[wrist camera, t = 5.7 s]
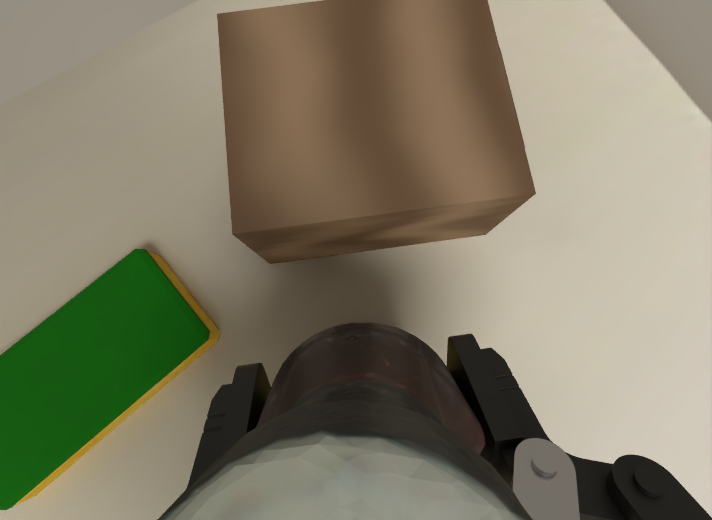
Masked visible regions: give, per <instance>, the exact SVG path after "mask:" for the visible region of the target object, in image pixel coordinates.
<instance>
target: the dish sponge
mask: <svg viewBox="0 0 712 520" xmlns="http://www.w3.org/2000/svg"><path fill="white" fill-rule="evenodd" d="M219 336H220V331H219V330H218V328H217V327H216V326H215V324H214V323H213V322H212V321H211V319H210V318H209V317H208V316H207V314H206V313H205V312H204V311H203V309H202V308H201V307H200V306H199V304H198V303H197V302H196V300H195V299H194V298H193V297H192V295H191V294H190V293H189V292H188V290H187V289H186V288H185V287H184V285H183V284H182V283H181V281H180V280H179V279H178V278H177V276H176V275H175V274H174V273H173V271H172V270H171V269H170V268H169V266H168V265H167V264H166V263H165V261H164V260H163V259H162V257H161V256H159V255H157V254H154V253H152V252H148V251H147V250H144V249H135V250H133V251H132V252H131V253H130V254H128V255H127V256H126V257H125V258H123V259H122V260H121V261H119V262H118V263H117V264H116V265H114V266H113V267H112V268H111V269H109V270H108V271H107V272H106V273H104V274H103V275H102V276H100V277H99V278H98V279H97V280H95V281H94V282H93V283H92V284H90V285H89V286H88V287H87V288H85V289H84V290H83V291H81V292H80V293H79V294H78V295H76V296H75V297H74V298H73V299H71V300H70V301H69V302H67V303H66V304H65V305H64V306H62V307H61V308H60V309H59V310H57V311H56V312H55V313H54V314H52V315H51V316H50V317H48V318H47V319H46V320H45V321H43V322H42V323H41V324H40V325H38V326H37V327H36V328H35V329H33V330H32V331H31V332H29V333H28V334H27V335H26V336H24V337H23V338H22V339H21V340H19V341H18V342H17V343H16V344H14V345H13V346H12V347H10V348H9V349H8V350H7V351H5V352H4V353H3V354H2V355H0V510H7V509H9V508H11V507H13V506H14V505H17V504H19V503H21V502H23V501H25V500H28V499H30V498H32V497H34V496H36V495H37V494H38V493H40V492H41V491H42V490H43V489H44V488H46V487H47V486H48V485H49V484H50V483H51V482H53V481H54V480H55V479H56V478H57V477H58V476H60V475H61V474H62V473H63V472H64V471H65V470H67V469H68V468H69V467H70V466H71V465H72V464H74V463H75V462H76V461H77V460H78V459H80V458H81V457H82V456H83V455H84V454H85V453H87V452H88V451H89V450H90V449H91V448H92V447H94V446H95V445H96V444H97V443H98V442H99V441H101V440H102V439H103V438H104V437H105V436H106V435H108V434H109V433H110V432H111V431H112V430H113V429H115V428H116V427H117V426H118V425H119V424H121V423H122V422H123V421H124V420H125V419H126V418H128V417H129V416H130V415H131V414H132V413H133V412H135V411H136V410H137V409H138V408H139V407H140V406H142V405H143V404H144V403H145V402H146V401H147V400H149V399H150V398H151V397H152V396H153V395H155V394H156V393H157V392H158V391H159V390H160V389H162V388H163V387H164V386H165V385H166V384H167V383H169V382H170V381H171V380H172V379H173V378H174V377H176V376H177V375H178V374H179V373H180V372H181V371H183V370H184V369H185V368H186V367H187V366H189V365H190V364H191V363H192V362H193V361H194V360H196V359H197V358H198V357H199V356H200V355H201V354H203V353H204V352H205V351H206V350H207V349H208V348H210V347H211V346H212V345H213V344H214V343H215V342H217V341H218V340H219Z"/></svg>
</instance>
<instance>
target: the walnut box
mask: <svg viewBox="0 0 712 520" xmlns="http://www.w3.org/2000/svg"><path fill="white" fill-rule="evenodd" d="M217 18H218V33H219V47H220V61H221V76H222V90H223V104H224V119H225V133H226V148H227V162H228V176H229V191H230V205H231V219H232V234H233V235H234V236H235V237H237V238H238V239H239V240H240V241H242V242H243V243H244V244H246V245H247V246H248V247H249V248H251V249H252V250H253V251H254V252H256V253H257V254H258V255H259V256H261V257H262V258H263V259H265V260H266V261H267V262H268V263H270V264H273V263H280V262H287V261H295V260H302V259H310V258H317V257H324V256H332V255H339V254H346V253H354V252H361V251H368V250H376V249H383V248H391V247H398V246H405V245H413V244H420V243H427V242H435V241H442V240H449V239H457V238H464V237H472V236H479V235H486V234H487V233H488V232H489V231H490V230H492V229H493V228H494V227H495V226H497V225H498V224H499V223H500V222H502V221H503V220H504V219H505V218H506V217H508V216H509V215H510V214H511V213H513V212H514V211H515V210H516V209H517V208H519V207H520V206H521V205H522V204H524V203H525V202H526V201H527V200H528V199H530V198H531V197H532V196H533V195H535V194H536V192H535V188H534V184H533V180H532V176H531V172H530V168H529V164H528V160H527V156H526V152H525V146H524V142H523V138H522V134H521V130H520V126H519V122H518V118H517V114H516V110H515V106H514V102H513V98H512V94H511V90H510V86H509V82H508V78H507V74H506V70H505V66H504V62H503V58H502V54H501V50H500V48H499V44H498V40H497V36H496V33H495V29H494V25H493V21H492V17H491V13H490V9H489V5H488V1H487V0H324V1H316V2H308V3H300V4H292V5H284V6H276V7H268V8H260V9H253V10H245V11H237V12H229V13H221V14H217Z"/></svg>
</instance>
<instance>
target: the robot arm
mask: <svg viewBox="0 0 712 520" xmlns="http://www.w3.org/2000/svg"><path fill="white" fill-rule="evenodd" d="M447 369H448V370H449V372H450V374H451V375H452V377H453V379H454V380H455V382H456V384H457V385H458V387H459V389H460V391H461V392H462V394H463V396H464V397H465V399H466V401H467V402H468V404H469V406H470V407H471V409H472V411H473V412H474V414H475V416H476V417H477V419H478V421H479V423H480V425H481V427H482V430H483V433H484V436H485V446H484V448H483V449H482V451H481V453H480V456H482V457H483V458H484V459H485V460H487V461H488V462H489V463H490V464H491V465H492V466H493V467H494V468H495V469H496V471H497V472H498V473H499V474H500V476H501V477H502V478H503V479H504V481H505V482H506V483H507V484H508V486H509V487H510V488H511V489H512V490H513V492H514V493H515V495H516V497H517V498H518V500H519V502H520V503H521V505H522V506H523V507H524V509H525V510H526V511H527V513H528V514H529V515H530V517H531V518H532V519H533V520H712V518H711V517H710V516H709V514H708V513H707V512H706V511H705V510H704V509H703V508H702V507H701V506H700V505H699V504H698V502H697V501H696V500H695V499H694V498H693V497H692V496H691V495H690V494H689V493H688V492H687V490H686V489H685V488H684V487H683V486H682V485H681V484H680V483H679V482H678V481H677V480H676V478H675V477H674V476H673V475H672V474H671V473H670V472H669V471H667V470H666V469H665V468H664V467H662V466H661V465H659V464H658V463H656V462H654V461H653V460H651V459H648V458H646V457H642V456H639V455H624V456H622V457H619V458H618V459H617V460H616V461H615V462H614V464H609V463H604V462H598V461H593V460H587V459H582V458H578V457H575V456H573V455H570V454H568V453H566V452H564V451H563V450H562V449H561V448H560V447H559V446H557V445H556V444H554V443H553V442H552V441H551V440H550V439H549V438H548V437H547V435H546V434H545V432H544V430H543V428H542V427H541V425H540V423H539V421H538V419H537V418H536V416H535V414H534V412H533V410H532V409H531V407H530V405H529V403H528V401H527V399H526V398H525V396H524V394H523V392H522V390H521V389H520V388H519V385H518V383H517V381H516V379H515V378H514V376H512V372H511V370H510V369H509V367H508V365H507V363H506V361H505V360H504V358H502V357H501V356H500V355H499V354H498V353H497V352H496V351H494V350H493V349H492V348H486V349H480V347H479V345H478V343H477V341H476V339H475V337H474V336H473V335H472V334H465V335H458V336H451V337H449V338H448V349H447ZM270 390H271V386H270V383H269V381H268V378H267V375H266V373H265V370H264V367H263V365H262V363H255V364H248V365H241V366H238V367H237V368H236V370H235V374H234V379H233V383H232V384H227V385H222V386H221V388H220V389H219V390H218V392H217V393H216V395H215V396H214V398H213V399H212V401H211V405H210V408H209V412H208V415H207V417H208V418H207V419H206V422H205V426H204V433H202V437H201V440H200V444H199V448H198V451H197V455H196V458H195V462H194V466H193V469H192V473H191V476H190V480H189V483H188V486H187V488H188V487H190V486H191V485H192V484H193V483H194V482H195V481H196V480H197V479H198V478H199V477H200V475H202V474H203V473H204V472H205V471H206V470H207V469H208V468H209V467H210V466H211V465H212V464H213V463H214V462H215V461H216V460H217V459H219V458H220V457H222V456H223V455H224V454H225V453H226V452H227V451H228V450H229V449H230V448H231V447H232V446H233V445H235V444H236V443H237V442H238V441H239V440H240V439H241V438H242V437H243V436H245V435H246V434H247V433H248V432H250V431H251V430H253V429H255V428H256V426H257V423H258V421H259V418H260V416H261V413H262V410H263V408H264V405H265V403H266V400H267V397H268V395H269V392H270Z"/></svg>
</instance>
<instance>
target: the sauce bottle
mask: <svg viewBox="0 0 712 520" xmlns="http://www.w3.org/2000/svg"><path fill="white" fill-rule="evenodd" d="M484 446H485V436H484V433H483V430H482V427H481V425H480V423H479V421H478V419H477V417H476V416H475V414H474V412H473V411H472V409H471V407H470V406H469V404H468V402H467V401H466V399H465V397H464V396H463V394H462V392H461V391H460V389H459V387H458V385H457V384H456V382H455V380H454V379H453V377H452V375H451V374H450V372H449V370H448V369H447V367H446V365H445V364H444V362H443V361H442V360H441V358H440V357H439V356H438V355H437V353H436V352H435V351H433V350H432V349H431V348H430V347H429V346H428V345H427V344H426V343H424V342H423V341H421V340H420V339H418V338H417V337H416V336H414V335H412V334H410V333H408V332H406V331H403V330H401V329H398V328H395V327H392V326H388V325H384V324H376V323H362V322H359V323H349V324H343V325H339V326H335V327H332V328H329V329H326V330H324V331H322V332H320V333H318V334H316V335H314V336H312V337H311V338H309V339H308V340H306V341H305V342H303V343H302V344H301V345H300V346H299V347H297V348H296V349H295V350H294V351H293V352H292V353H291V354H290V355H289V357H288V358H287V359H286V360H285V362H284V363H283V364H282V366H281V368H280V370H279V372H278V374H277V375H276V377H275V380H274V382H273V384H272V387H271V390H270V392H269V395H268V397H267V400H266V403H265V405H264V408H263V410H262V413H261V416H260V418H259V421H258V423H257V426H256V428H255V429H253V430H251V431H250V432H248V433H247V434H246V435H245V436H243V437H242V438H241V439H240V440H239V441H238V442H237V443H236V444H235V445H233V446H232V447H231V448H230V449H229V450H228V451H227V452H226V453H225V454H224V455H223V456H222V457H220V458H219V459H217V460H216V461H215V462H214V463H213V464H212V465H211V466H210V467H209V468H208V469H207V470H206V471H205V472H204V473H203V474H202V475H200V477H199V478H198V479H197V480H196V481H195V482H194V483H193V484H192V485H191V486H190V487H188V488H187V489H186V490H185V492H184V493H183V494H182V495H181V496H180V497H179V498H178V499H177V500H176V501H175V502H174V503H173V504H172V505H171V506H170V507H169V508H168V509H167V510H166V511H165V513H164V514H163V515H162V516H161V517H160V518H159V519H158V520H533V519H532V518H531V517H530V515H529V514H528V513H527V511H526V510H525V509H524V507H523V506H522V505H521V503H520V502H519V500H518V498H517V497H516V495H515V493H514V492H513V490H512V489H511V488H510V487H509V486H508V484H507V483H506V482H505V481H504V479H503V478H502V477H501V476H500V474H499V473H498V472H497V471H496V469H495V468H494V467H493V466H492V465H491V464H490V463H489V462H488V461H487V460H485V459H484V458H483V457H482V456H480V453H481V451H482V449H483V448H484Z"/></svg>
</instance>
